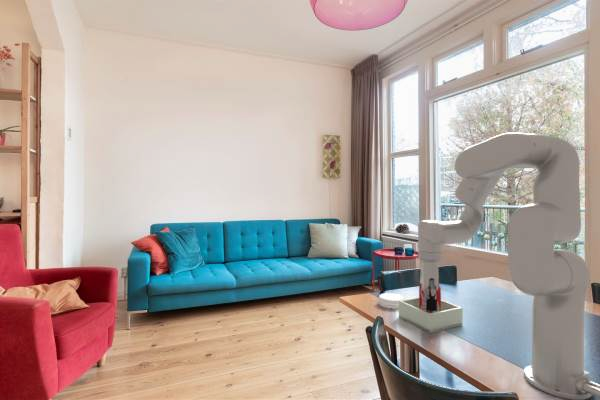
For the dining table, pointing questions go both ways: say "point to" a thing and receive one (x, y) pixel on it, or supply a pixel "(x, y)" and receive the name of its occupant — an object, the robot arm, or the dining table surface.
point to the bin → (430, 315)
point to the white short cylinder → (390, 300)
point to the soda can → (424, 295)
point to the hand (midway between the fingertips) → (430, 306)
